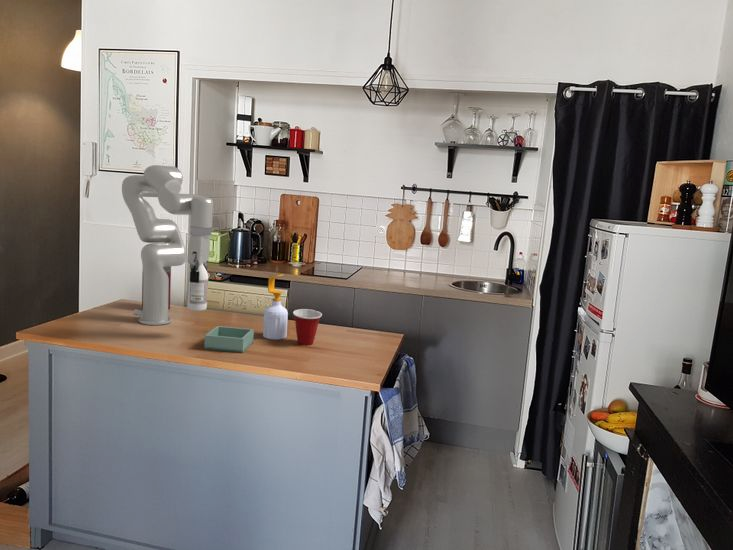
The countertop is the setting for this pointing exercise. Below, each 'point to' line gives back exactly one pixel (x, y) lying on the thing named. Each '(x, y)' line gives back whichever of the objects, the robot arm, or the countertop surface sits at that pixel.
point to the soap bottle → (275, 315)
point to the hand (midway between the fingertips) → (198, 279)
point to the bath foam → (198, 291)
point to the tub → (229, 339)
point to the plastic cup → (306, 325)
